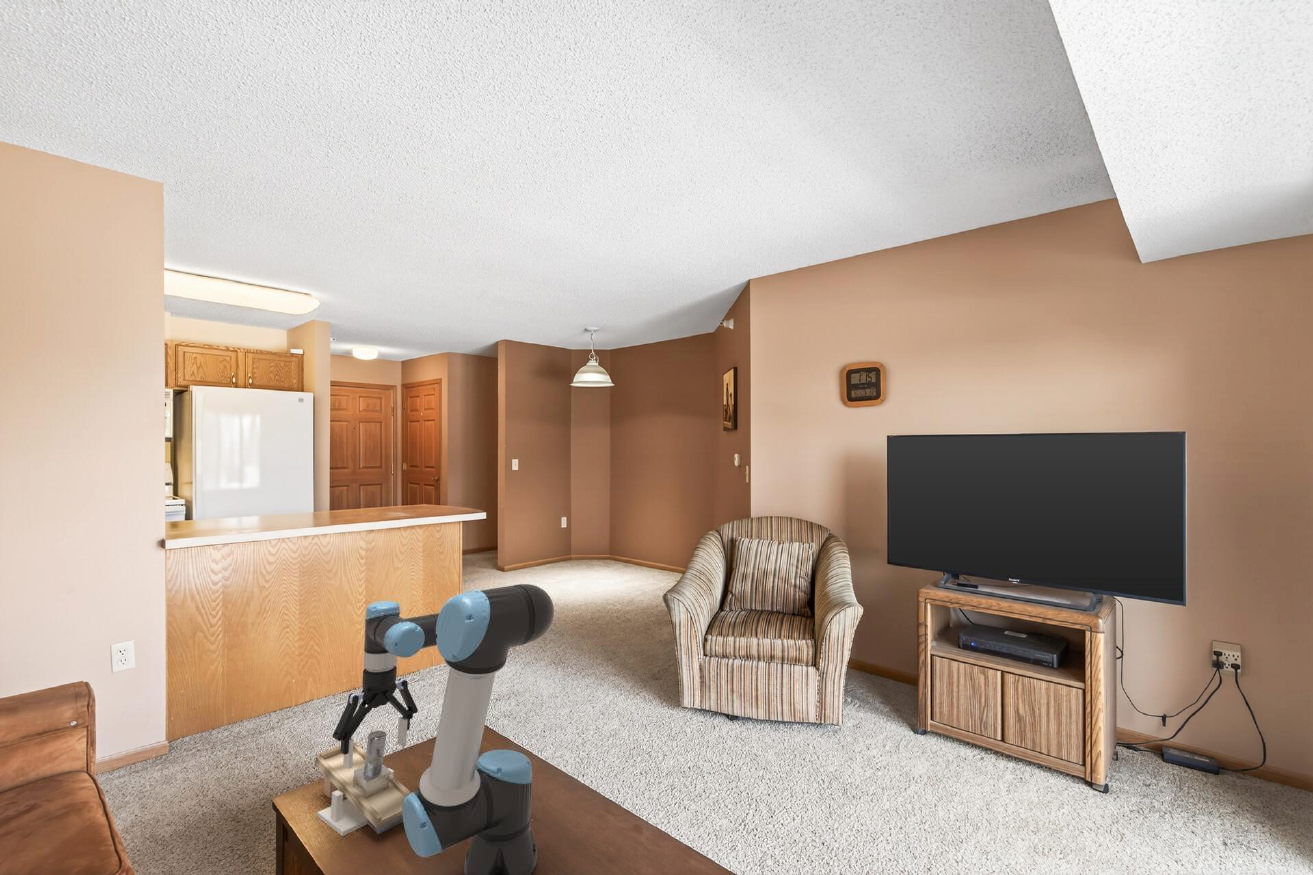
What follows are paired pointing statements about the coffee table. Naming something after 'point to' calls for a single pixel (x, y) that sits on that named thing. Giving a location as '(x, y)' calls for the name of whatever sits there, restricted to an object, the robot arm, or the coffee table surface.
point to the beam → (376, 808)
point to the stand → (341, 811)
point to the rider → (372, 767)
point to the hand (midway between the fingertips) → (375, 755)
